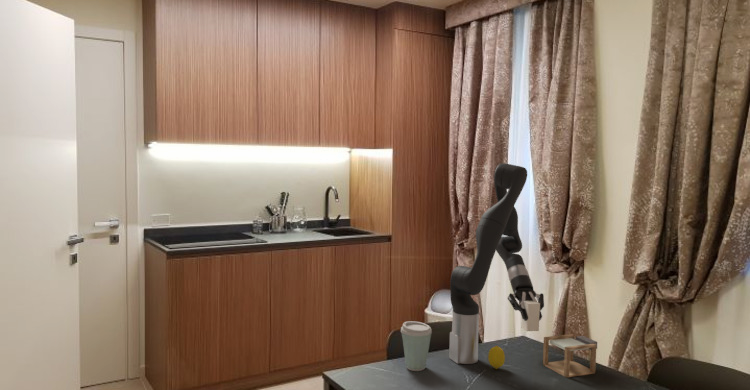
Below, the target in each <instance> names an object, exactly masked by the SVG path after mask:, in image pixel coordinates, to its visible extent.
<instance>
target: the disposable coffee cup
mask: <svg viewBox="0 0 750 390" xmlns="http://www.w3.org/2000/svg"><path fill="white" fill-rule="evenodd" d="M432 330H433V329H432V327H431V326H430V325H428V324H427V323H424V322H421V321H414V320H413V321H412V320H411V321H409V320H408V321H404V322H403V323H402V326H401V327H400V333H401V337H402V345H403V353H404V361H405V366H406V369H407V370H409V371H413V372H419V371H420V372H421V371H424V370H425V369H426V367H427V362H428V360H427V359H428V356H429V355H428V354H429V349H430V343H431V337H432V333H433V331H432Z"/></svg>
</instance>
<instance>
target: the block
mask: <svg viewBox="0 0 750 390" xmlns="http://www.w3.org/2000/svg"><path fill="white" fill-rule="evenodd" d="M524 306H525V308H524V309H526V312H527V315H528V319H527V321H524V319H523V318H522V317H521V328H522V329H523V330H524V331H526V332H540V331H539V330H540V328H539V327H540V321H539V315H540V311H541V310H540V303H538V301H537V302H536V301H524Z"/></svg>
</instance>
